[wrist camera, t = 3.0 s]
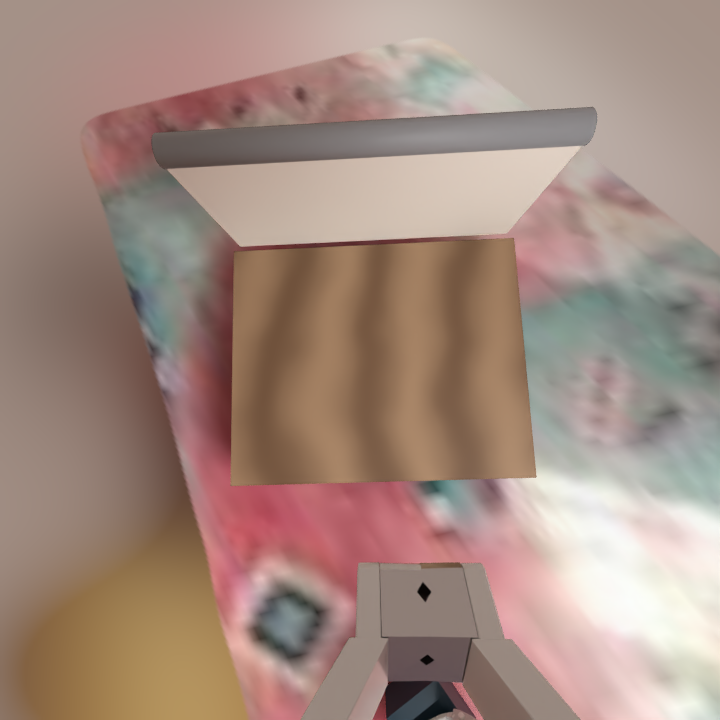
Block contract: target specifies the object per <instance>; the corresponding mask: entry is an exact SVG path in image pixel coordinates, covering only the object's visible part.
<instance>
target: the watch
mask: <svg viewBox="0 0 720 720" xmlns="http://www.w3.org/2000/svg"><path fill="white" fill-rule="evenodd" d="M385 691H386V718H387V720H476V717H475V716H474V714H473V713H472V711H471V710H470V709H469V707H468V706H467V704H466V703H465V701H464V700H463V698H462V697H461V696H460V694H459V693H458V691H457V690H456V688H455V687H454V685H453V684H452V682H439V681H393V682H391V683H390V684H389V685H388V686H387V687H386V689H385Z"/></svg>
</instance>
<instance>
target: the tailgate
mask: <svg viewBox="0 0 720 720" xmlns="http://www.w3.org/2000/svg"><path fill="white" fill-rule="evenodd" d="M596 123H597V113H596V110H595V108H593V107H587V108H568V109H553V110H534V111H518V112H501V113H484V114H467V115H450V116H433V117H416V118H399V119H382V120H365V121H348V122H331V123H314V124H297V125H281V126H264V127H247V128H230V129H213V130H196V131H179V132H162V133H154V134H153V135H152V149H153V153H154V156H155V159H156V161H157V162H158V164H159V165H160V167H162V168H163V169H167V170H168V171H169V172H170V173H171V174H172V175H173V176H174V177H175V178H176V180H177V181H178V182H179V183H180V184H181V185H182V186H183V187H184V188H185V189H186V190H187V191H188V192H189V193H190V194H191V195H192V196H193V197H194V198H195V200H196V201H197V202H198V203H199V204H200V205H201V206H202V207H203V208H204V209H205V210H206V211H207V212H208V213H209V214H210V215H211V216H212V217H213V218H214V220H215V221H216V222H217V223H218V224H219V225H220V226H221V227H222V228H223V229H224V230H225V231H226V232H227V233H228V234H229V235H230V236H231V237H232V238H233V240H234V241H235V242H236V243H237V244H238V245H239V246H240V247H244V246H264V245H285V244H306V243H326V242H347V241H367V240H388V239H409V238H429V237H450V236H470V235H491V234H507V233H508V232H509V231H510V229H511V228H512V227H513V226H514V225H515V224H516V222H517V221H518V220H519V219H520V218H521V217H522V215H523V214H524V213H525V212H526V211H527V210H528V208H529V207H530V206H531V205H532V204H533V203H534V201H535V200H536V199H537V198H538V197H539V196H540V194H541V193H542V192H543V191H544V190H545V189H546V188H547V186H548V185H549V184H550V183H551V182H552V181H553V179H554V178H555V177H556V176H557V175H558V174H559V172H560V171H561V170H562V169H563V168H564V167H565V165H566V164H567V163H568V162H569V161H570V160H571V158H572V157H573V156H574V155H575V154H576V153H577V151H578V150H579V149H580V148H581V147H582V146H585V145H587V144H588V143H589V142H590V140H591V139H592V137H593V135H594V132H595V129H596Z"/></svg>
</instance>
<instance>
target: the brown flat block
mask: <svg viewBox="0 0 720 720" xmlns="http://www.w3.org/2000/svg"><path fill="white" fill-rule="evenodd" d="M500 478H536V468H535V457H534V447H533V436H532V425H531V415H530V404H529V393H528V383H527V372H526V362H525V351H524V340H523V330H522V319H521V308H520V298H519V287H518V276H517V266H516V255H515V245H514V238H505V239H484V240H463V241H442V242H422V243H401V244H380V245H359V246H338V247H318V248H297V249H276V250H255V251H235V252H234V277H233V350H232V423H231V486H244V485H281V484H317V483H354V482H390V481H427V480H463V479H500Z"/></svg>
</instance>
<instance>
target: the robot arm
mask: <svg viewBox="0 0 720 720" xmlns="http://www.w3.org/2000/svg"><path fill="white" fill-rule="evenodd" d="M388 681H439V682H461V683H463V687H464V688H465V690H466V691H467V693H468V695H469V696H470V698H471V699H472V701H473V703H474V704H475V706H476V708H477V709H478V711H479V712H480V714H481V716H482V717H483V719H484V720H581V719H580V718H579V717H578V716H577V715H576V714H575V713H574V711H573V710H572V709H571V708H570V707H569V706H568V704H567V703H566V702H565V701H564V700H563V699H562V697H561V696H560V695H559V694H558V693H557V692H556V690H555V689H554V688H553V687H552V686H551V685H550V683H549V682H548V681H547V680H546V679H545V678H544V676H543V675H542V674H541V673H540V672H539V671H538V669H537V668H536V667H535V666H534V665H533V664H532V663H531V661H530V660H529V659H528V658H527V657H526V656H525V654H524V653H523V652H522V651H521V650H520V649H519V647H518V646H517V645H516V644H515V643H514V642H513V640H512V639H505V638H504V634H503V631H502V627H501V624H500V620H499V616H498V613H497V609H496V606H495V602H494V599H493V595H492V592H491V588H490V585H489V581H488V577H487V574H486V570H485V568H484V566H483V565H482V564H481V563H359V564H358V573H357V609H356V637H349V639H348V641H347V642H346V644H345V646H344V647H343V649H342V651H341V652H340V654H339V656H338V657H337V659H336V661H335V663H334V664H333V666H332V668H331V669H330V671H329V673H328V674H327V676H326V678H325V679H324V681H323V683H322V684H321V686H320V688H319V689H318V691H317V693H316V695H315V696H314V698H313V700H312V701H311V703H310V705H309V706H308V708H307V710H306V711H305V713H304V715H303V716H302V718H301V720H372V719H373V717H374V715H375V712H376V710H377V708H378V705H379V703H380V701H381V699H382V696H383V694H384V692H385V689H386V687H387V685H388Z"/></svg>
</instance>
